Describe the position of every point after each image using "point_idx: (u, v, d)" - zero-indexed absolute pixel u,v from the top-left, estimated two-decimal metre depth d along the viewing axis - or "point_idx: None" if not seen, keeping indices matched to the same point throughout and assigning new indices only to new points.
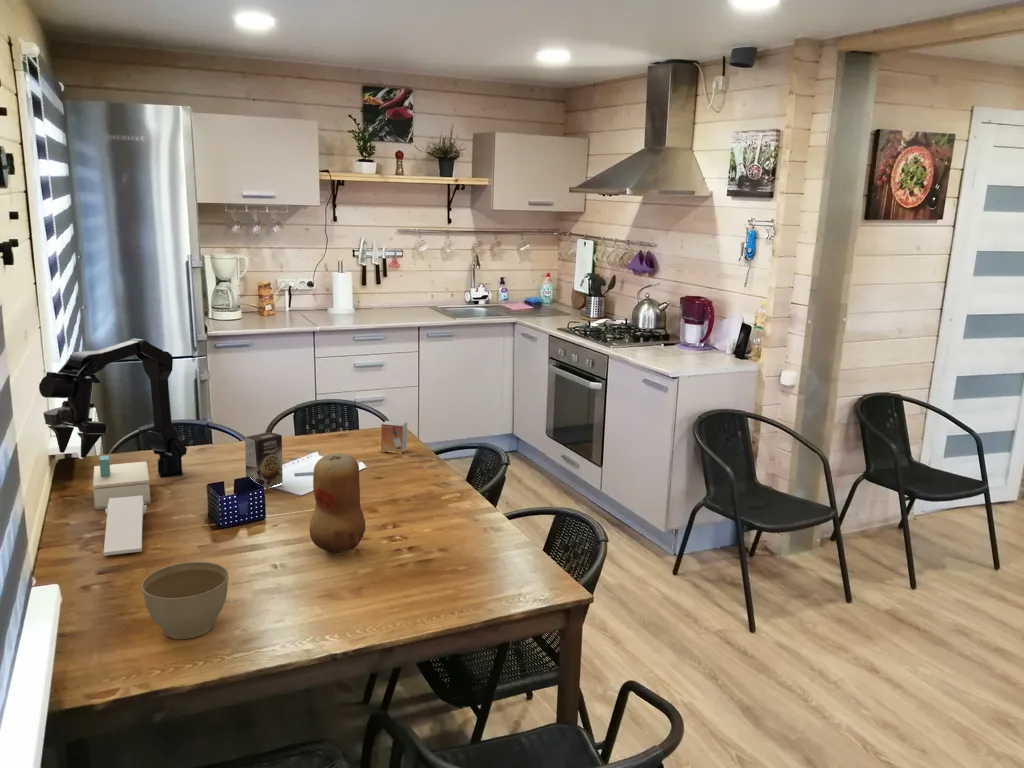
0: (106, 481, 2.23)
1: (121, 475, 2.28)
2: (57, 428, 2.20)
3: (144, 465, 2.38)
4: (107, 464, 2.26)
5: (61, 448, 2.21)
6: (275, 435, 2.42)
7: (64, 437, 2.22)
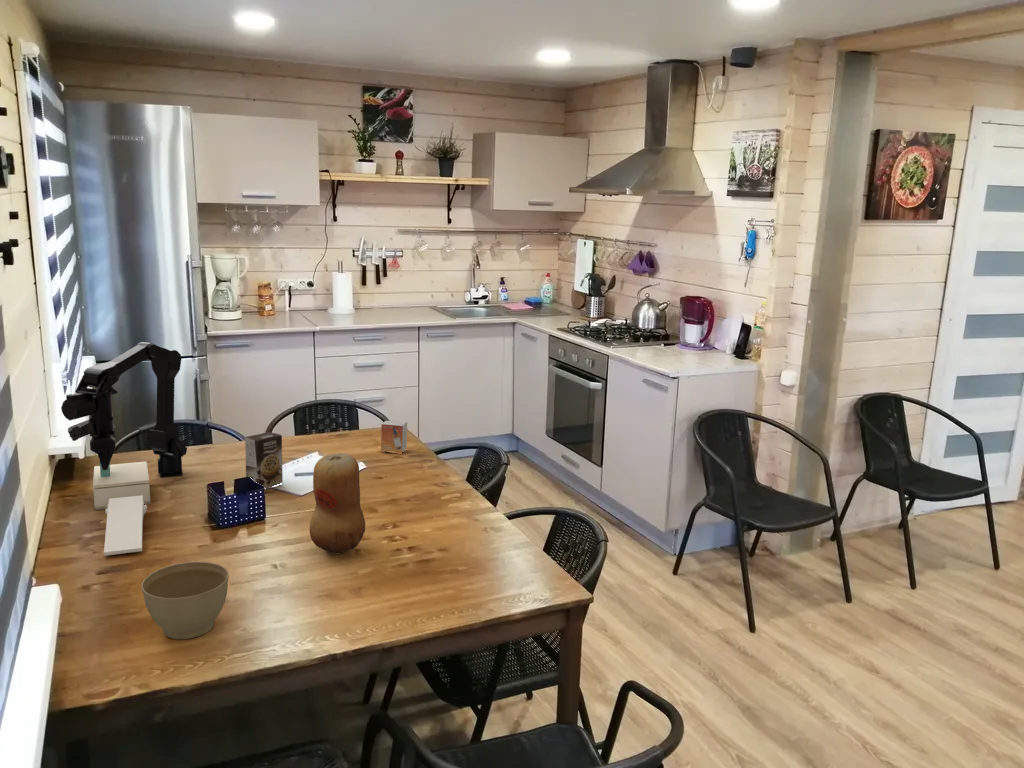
0: (106, 481, 2.23)
1: (121, 475, 2.28)
2: None
3: (144, 465, 2.38)
4: None
5: None
6: (275, 435, 2.42)
7: None
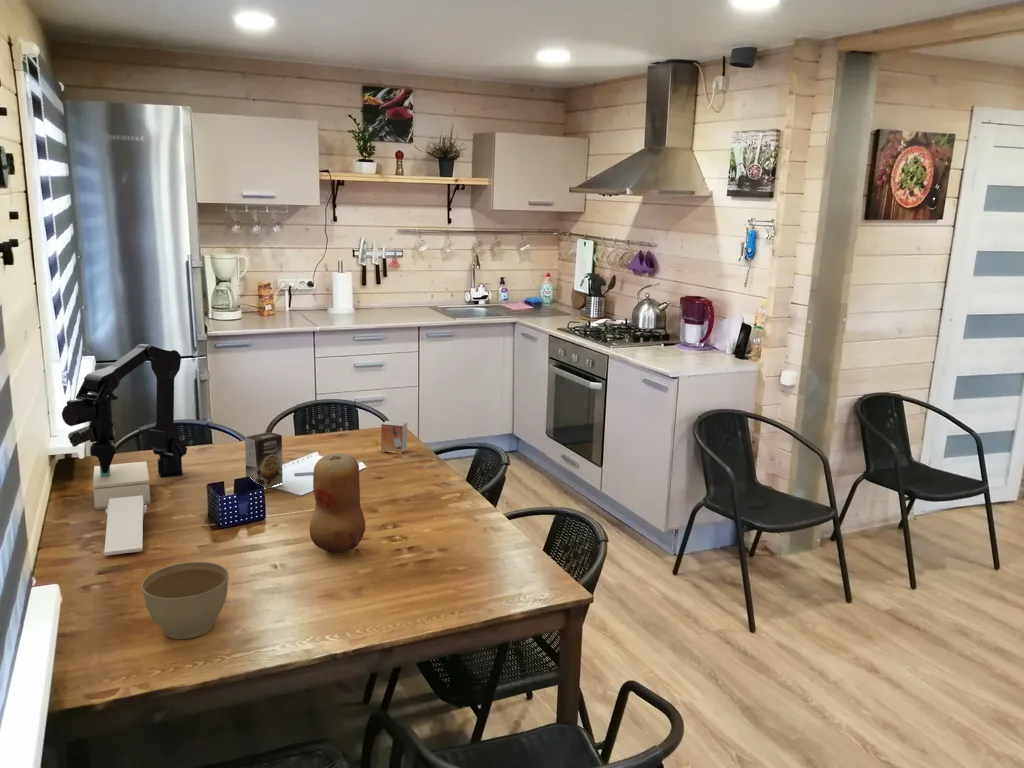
0: (106, 481, 2.23)
1: (121, 475, 2.28)
2: None
3: (144, 465, 2.38)
4: None
5: None
6: (275, 435, 2.42)
7: None
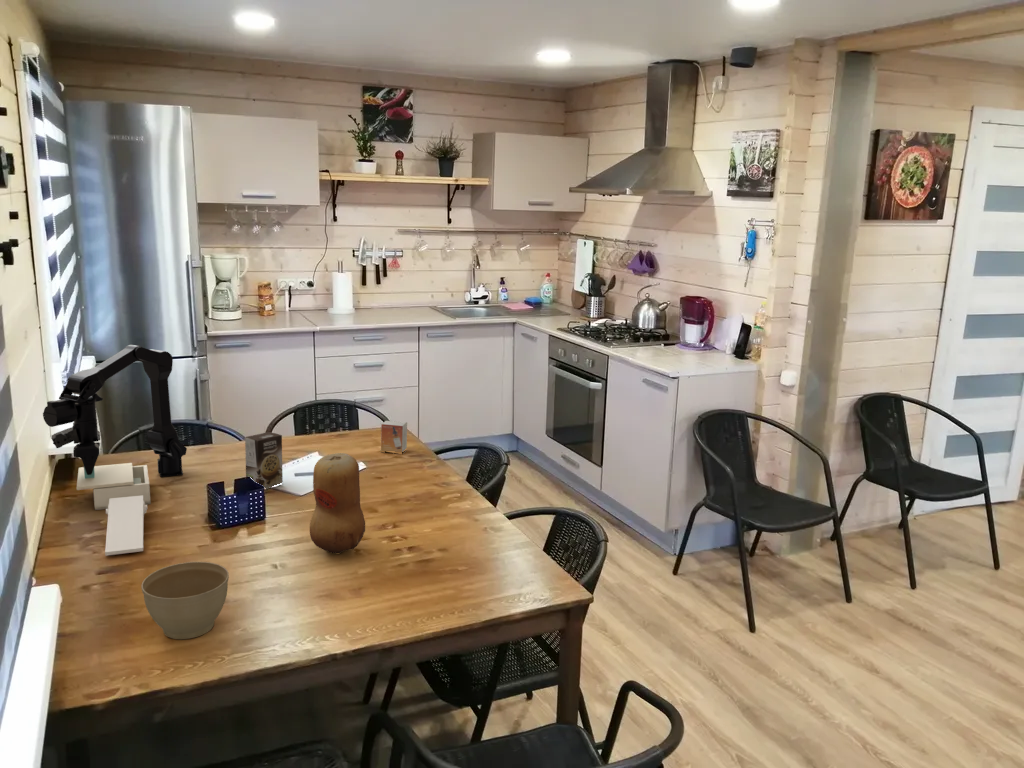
0: (90, 483, 2.21)
1: (105, 477, 2.26)
2: None
3: (130, 466, 2.36)
4: None
5: None
6: (275, 435, 2.42)
7: None
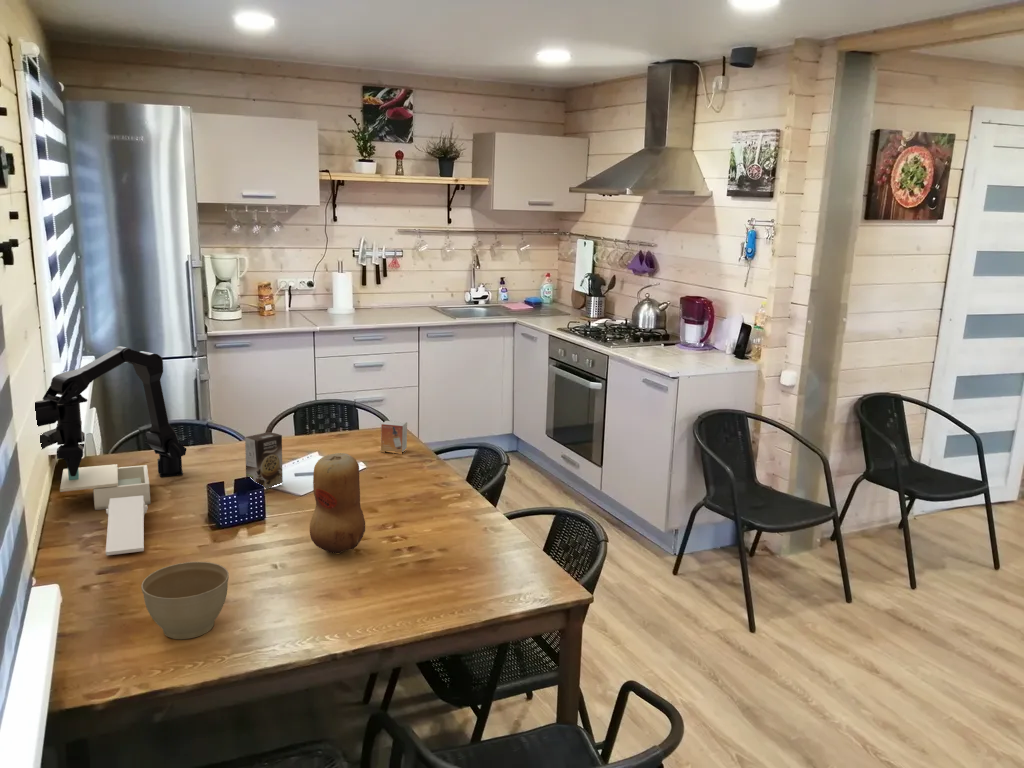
0: (74, 484, 2.19)
1: (90, 478, 2.25)
2: None
3: (115, 467, 2.34)
4: None
5: None
6: (275, 435, 2.42)
7: None
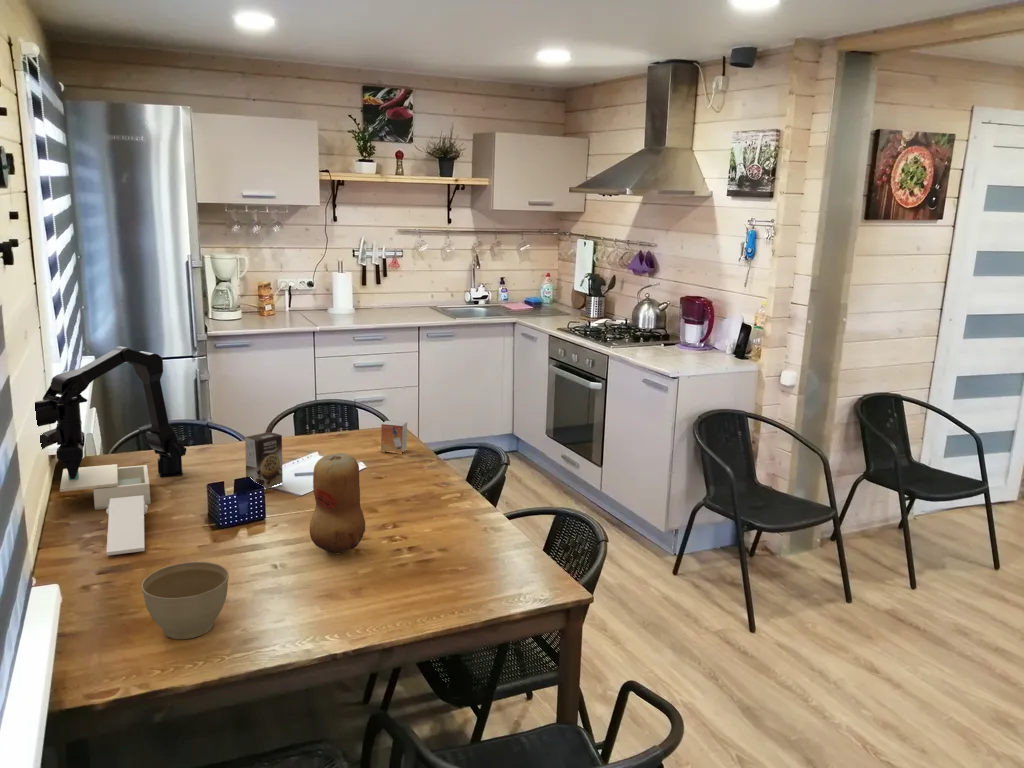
0: (74, 484, 2.19)
1: (90, 478, 2.25)
2: None
3: (115, 467, 2.34)
4: None
5: None
6: (275, 435, 2.42)
7: None
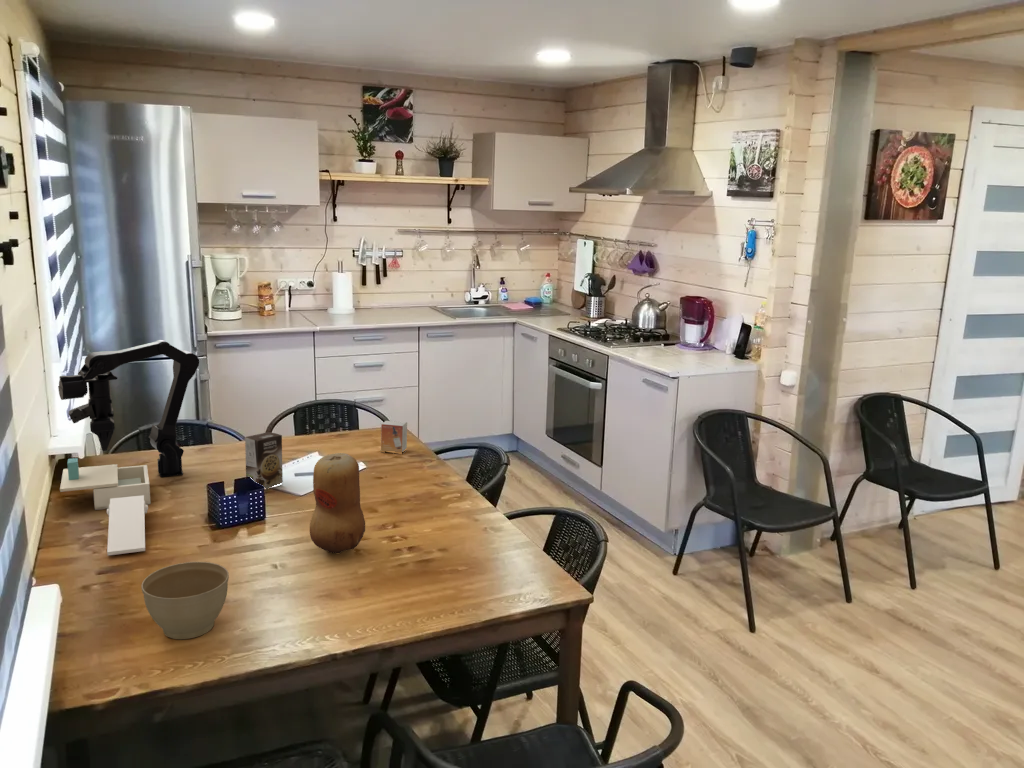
0: (74, 484, 2.19)
1: (90, 478, 2.25)
2: None
3: (115, 467, 2.34)
4: (75, 467, 2.23)
5: None
6: (275, 435, 2.42)
7: None
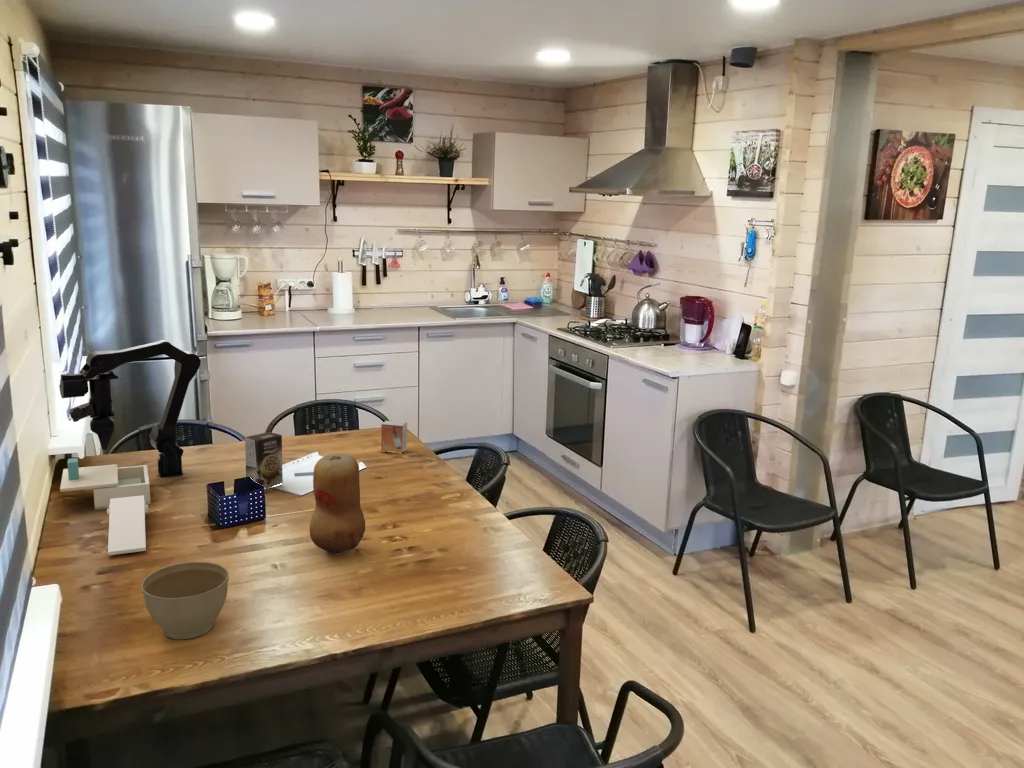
0: (74, 484, 2.19)
1: (90, 478, 2.25)
2: None
3: (115, 467, 2.34)
4: (75, 467, 2.23)
5: None
6: (275, 435, 2.42)
7: None
